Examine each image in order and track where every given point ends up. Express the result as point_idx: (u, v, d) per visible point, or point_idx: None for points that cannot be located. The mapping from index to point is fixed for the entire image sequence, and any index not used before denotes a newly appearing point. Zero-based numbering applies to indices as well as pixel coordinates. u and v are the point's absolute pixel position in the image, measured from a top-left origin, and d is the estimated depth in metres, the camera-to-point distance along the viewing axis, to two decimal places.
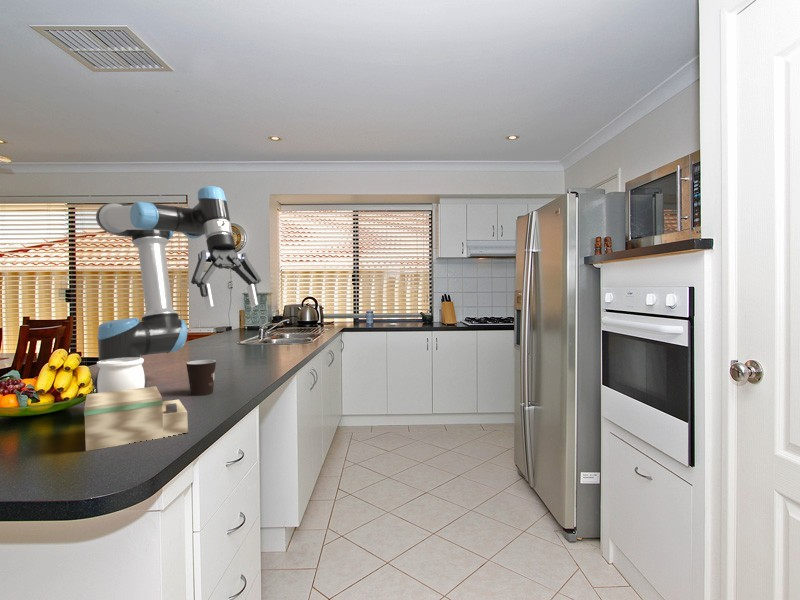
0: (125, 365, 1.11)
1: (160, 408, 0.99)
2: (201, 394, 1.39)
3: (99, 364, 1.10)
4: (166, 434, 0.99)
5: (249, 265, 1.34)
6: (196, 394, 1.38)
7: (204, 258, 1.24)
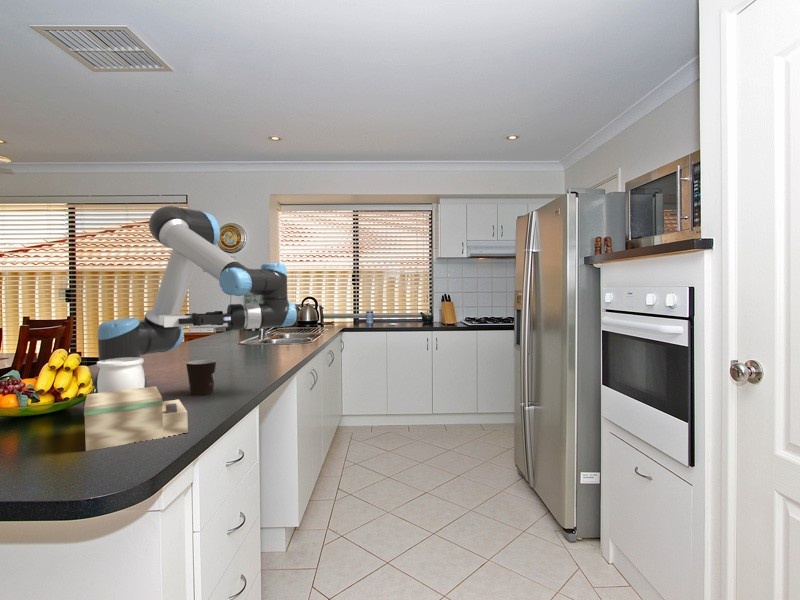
0: (125, 365, 1.11)
1: (160, 408, 0.99)
2: (201, 394, 1.39)
3: (99, 364, 1.10)
4: (166, 434, 0.99)
5: None
6: (196, 394, 1.38)
7: (221, 323, 1.22)
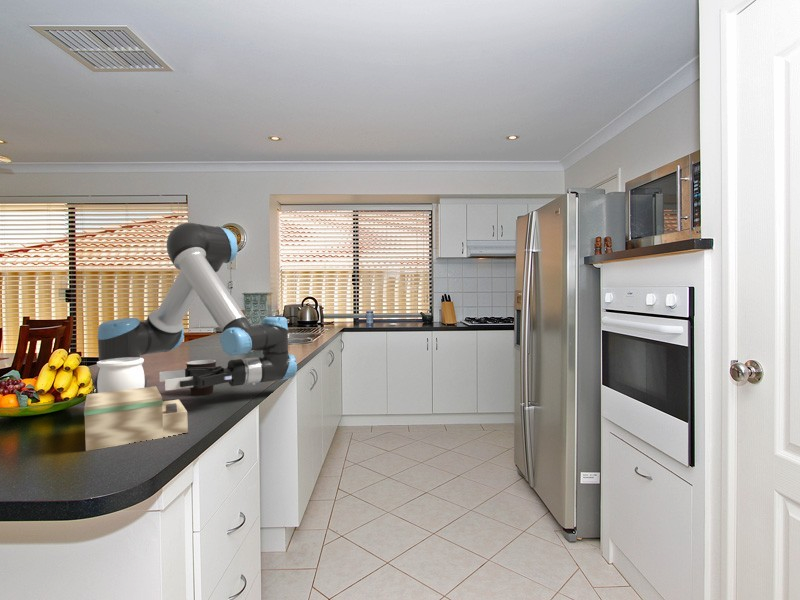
0: (125, 365, 1.11)
1: (160, 408, 0.99)
2: (201, 394, 1.39)
3: (99, 364, 1.10)
4: (166, 434, 0.99)
5: None
6: (196, 394, 1.38)
7: (222, 382, 1.22)
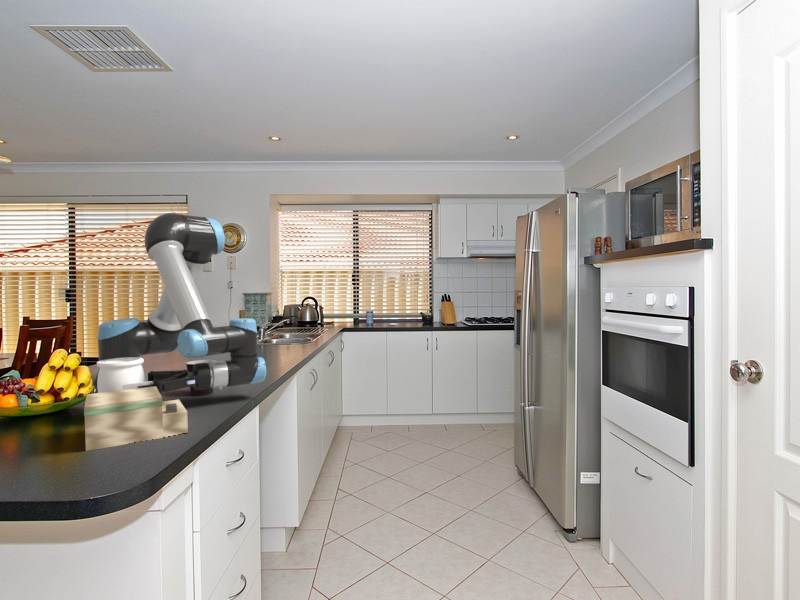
0: (125, 365, 1.11)
1: (160, 408, 0.99)
2: (201, 394, 1.39)
3: (99, 364, 1.10)
4: (166, 434, 0.99)
5: None
6: (196, 394, 1.38)
7: None
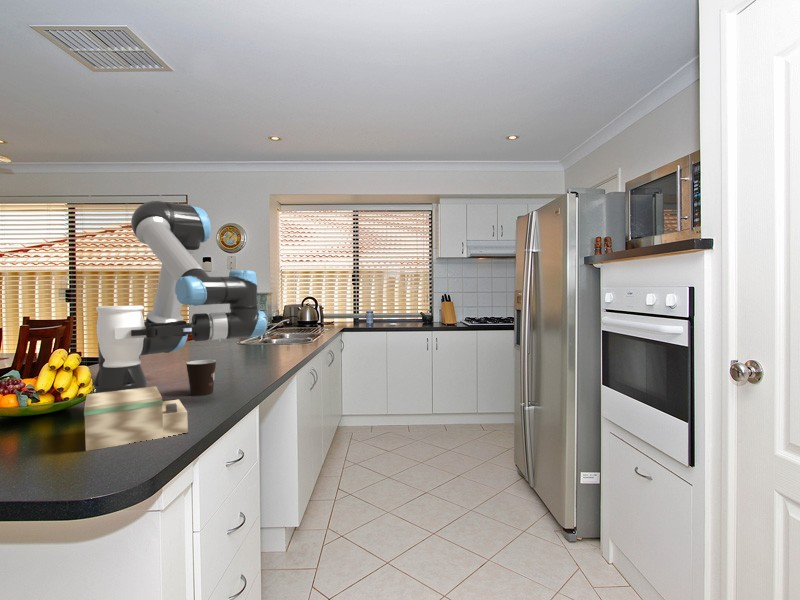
0: (125, 309, 1.09)
1: (160, 408, 0.99)
2: (201, 394, 1.39)
3: (98, 308, 1.08)
4: (166, 434, 0.99)
5: None
6: (196, 394, 1.38)
7: (180, 334, 1.15)
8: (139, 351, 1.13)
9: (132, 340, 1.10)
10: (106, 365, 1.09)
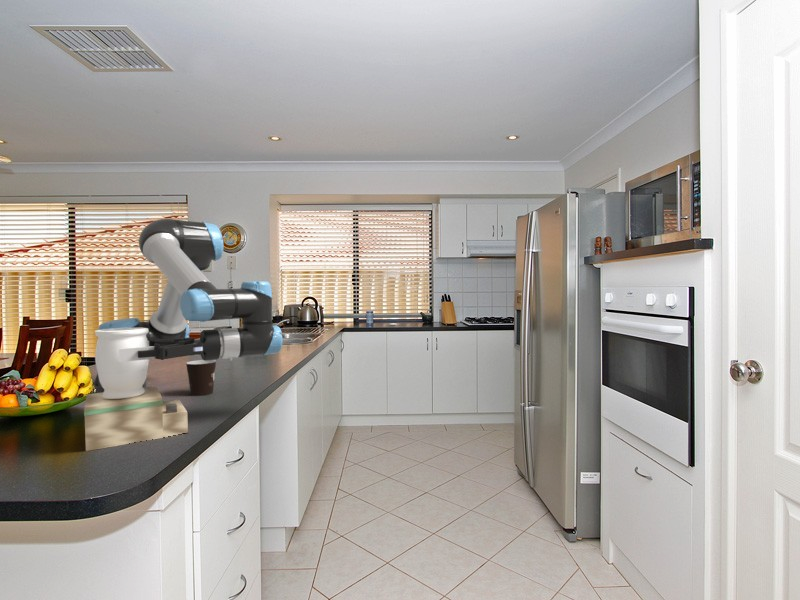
0: (127, 334, 0.97)
1: (160, 408, 0.99)
2: (201, 394, 1.39)
3: (97, 332, 0.96)
4: (166, 434, 0.99)
5: None
6: (196, 394, 1.38)
7: (191, 354, 1.02)
8: (143, 380, 1.01)
9: (135, 368, 0.98)
10: (105, 396, 0.97)
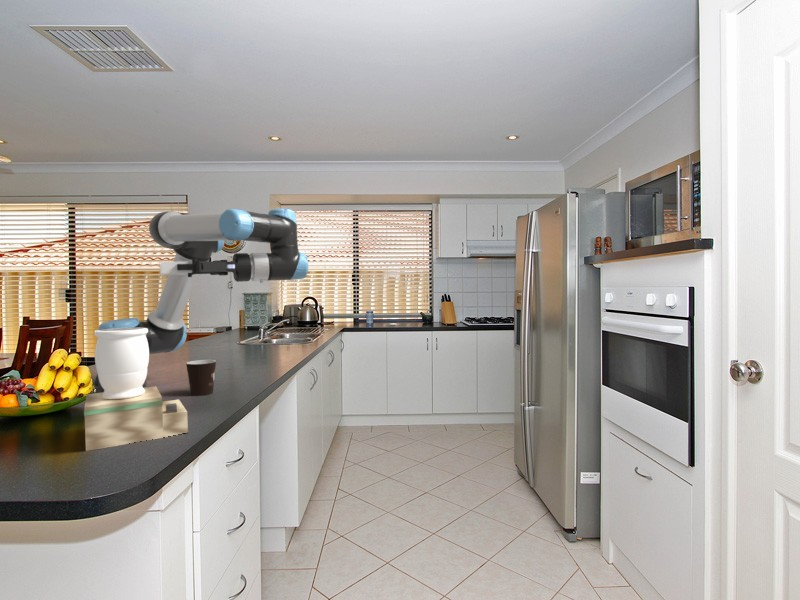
0: (127, 334, 0.97)
1: (160, 408, 0.99)
2: (201, 394, 1.39)
3: (97, 333, 0.96)
4: (166, 434, 0.99)
5: None
6: (196, 394, 1.38)
7: (224, 271, 1.11)
8: (143, 380, 1.01)
9: (135, 368, 0.98)
10: (105, 397, 0.97)
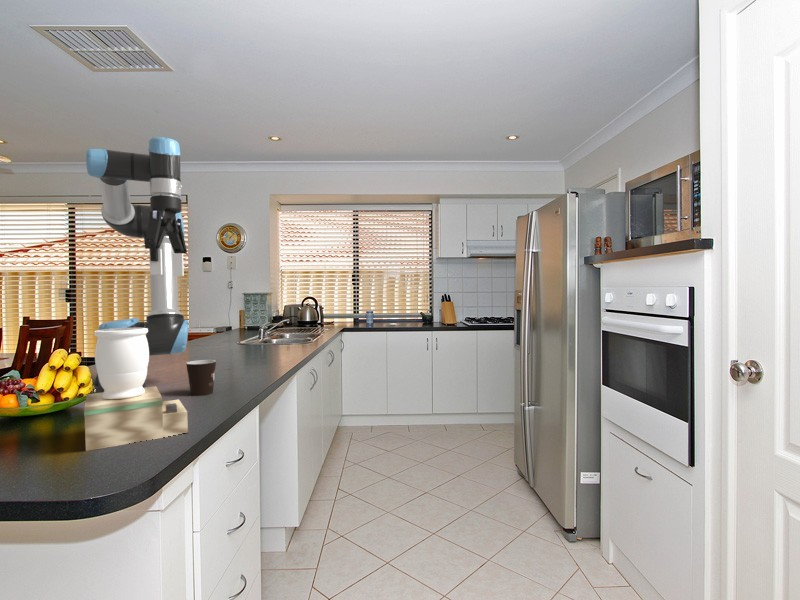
0: (127, 334, 0.97)
1: (160, 408, 0.99)
2: (201, 394, 1.39)
3: (97, 332, 0.96)
4: (166, 434, 0.99)
5: (181, 233, 1.29)
6: (196, 394, 1.38)
7: (160, 220, 1.15)
8: (143, 380, 1.01)
9: (135, 368, 0.98)
10: (105, 396, 0.97)
